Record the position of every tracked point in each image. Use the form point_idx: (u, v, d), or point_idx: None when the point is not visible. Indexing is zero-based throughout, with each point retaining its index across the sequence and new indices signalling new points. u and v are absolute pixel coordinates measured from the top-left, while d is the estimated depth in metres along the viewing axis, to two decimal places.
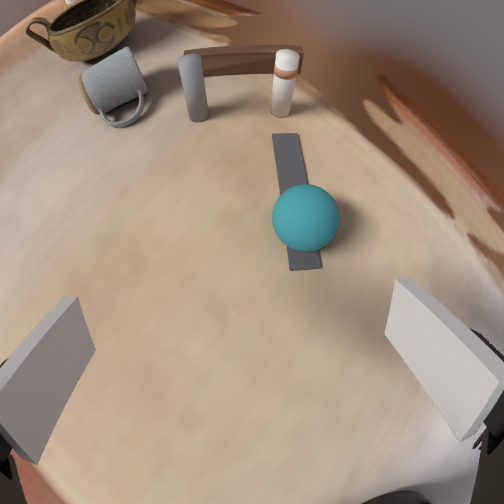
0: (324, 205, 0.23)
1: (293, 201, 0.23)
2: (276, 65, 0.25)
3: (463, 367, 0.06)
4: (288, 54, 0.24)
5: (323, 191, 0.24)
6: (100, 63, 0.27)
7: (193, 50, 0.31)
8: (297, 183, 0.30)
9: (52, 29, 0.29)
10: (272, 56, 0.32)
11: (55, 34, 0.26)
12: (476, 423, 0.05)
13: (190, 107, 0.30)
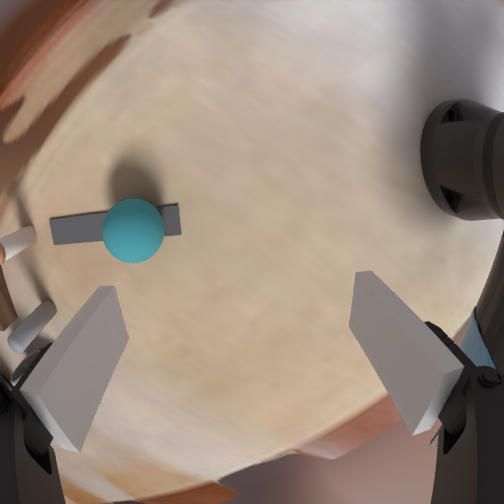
0: (122, 227, 0.22)
1: (121, 255, 0.23)
2: None
3: (412, 358, 0.07)
4: None
5: (108, 223, 0.23)
6: None
7: None
8: (98, 223, 0.28)
9: None
10: None
11: None
12: (428, 417, 0.06)
13: (47, 322, 0.29)
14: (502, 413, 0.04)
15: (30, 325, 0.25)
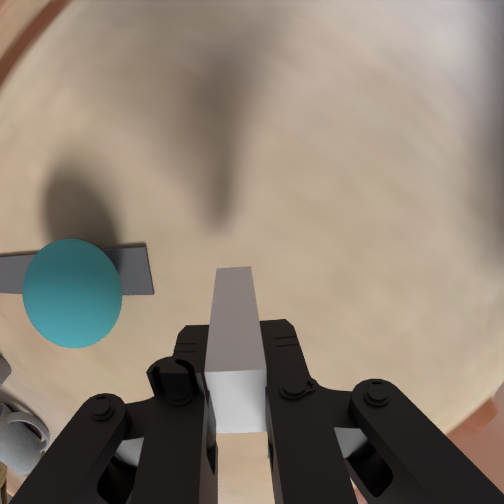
0: (41, 301, 0.10)
1: (52, 341, 0.11)
2: None
3: None
4: None
5: (24, 288, 0.11)
6: (3, 462, 0.16)
7: None
8: None
9: None
10: None
11: None
12: (248, 416, 0.07)
13: None
14: (316, 430, 0.05)
15: None
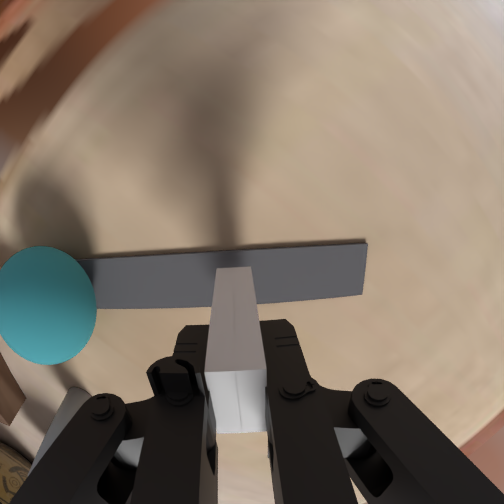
0: None
1: None
2: None
3: None
4: None
5: (79, 278, 0.12)
6: None
7: None
8: (192, 274, 0.14)
9: None
10: None
11: None
12: (249, 416, 0.07)
13: None
14: (316, 430, 0.05)
15: None
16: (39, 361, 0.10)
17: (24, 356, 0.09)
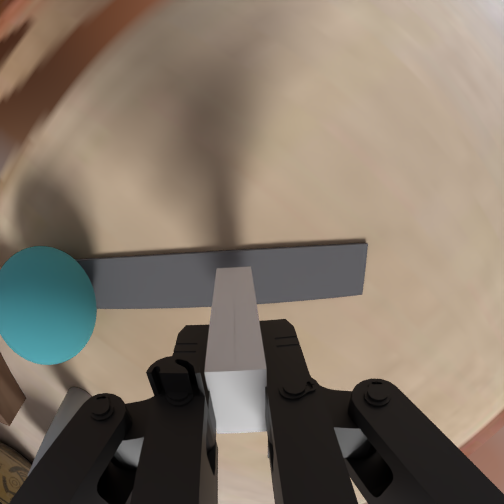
0: None
1: None
2: None
3: None
4: None
5: (79, 278, 0.12)
6: None
7: None
8: (192, 274, 0.14)
9: None
10: None
11: None
12: (249, 416, 0.07)
13: None
14: (316, 430, 0.05)
15: None
16: (39, 361, 0.10)
17: (24, 356, 0.09)
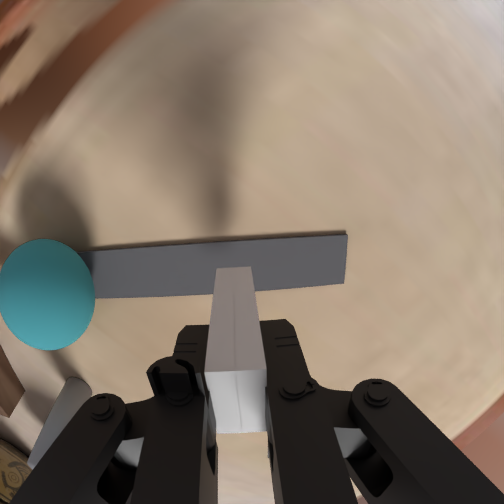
0: None
1: None
2: None
3: None
4: None
5: (79, 267, 0.13)
6: None
7: None
8: (184, 263, 0.15)
9: None
10: None
11: None
12: (249, 416, 0.07)
13: None
14: (316, 430, 0.05)
15: None
16: (41, 346, 0.11)
17: (27, 341, 0.10)
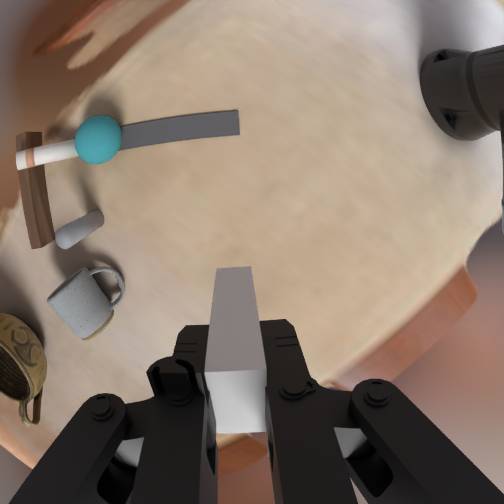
0: None
1: None
2: (26, 167, 0.26)
3: None
4: None
5: None
6: (71, 322, 0.32)
7: (31, 240, 0.31)
8: (163, 127, 0.32)
9: (22, 397, 0.34)
10: None
11: (33, 389, 0.32)
12: (249, 416, 0.07)
13: (95, 228, 0.33)
14: (316, 430, 0.05)
15: (81, 223, 0.29)
16: (93, 152, 0.27)
17: (87, 150, 0.27)
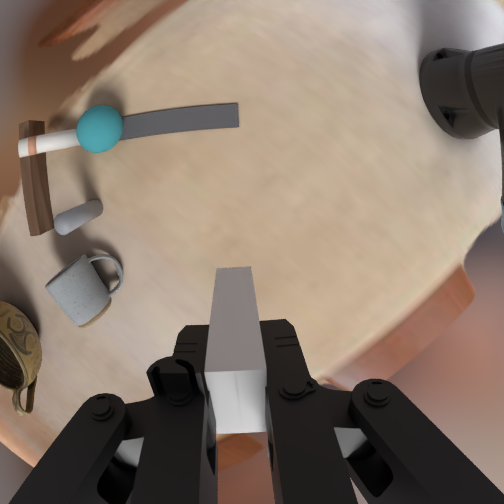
0: None
1: None
2: (27, 154, 0.26)
3: None
4: None
5: (119, 114, 0.29)
6: (68, 308, 0.32)
7: (30, 227, 0.31)
8: (164, 118, 0.32)
9: (16, 386, 0.34)
10: None
11: (27, 378, 0.32)
12: (249, 416, 0.07)
13: (94, 216, 0.33)
14: (316, 430, 0.05)
15: (80, 210, 0.29)
16: (95, 140, 0.27)
17: (89, 138, 0.27)
